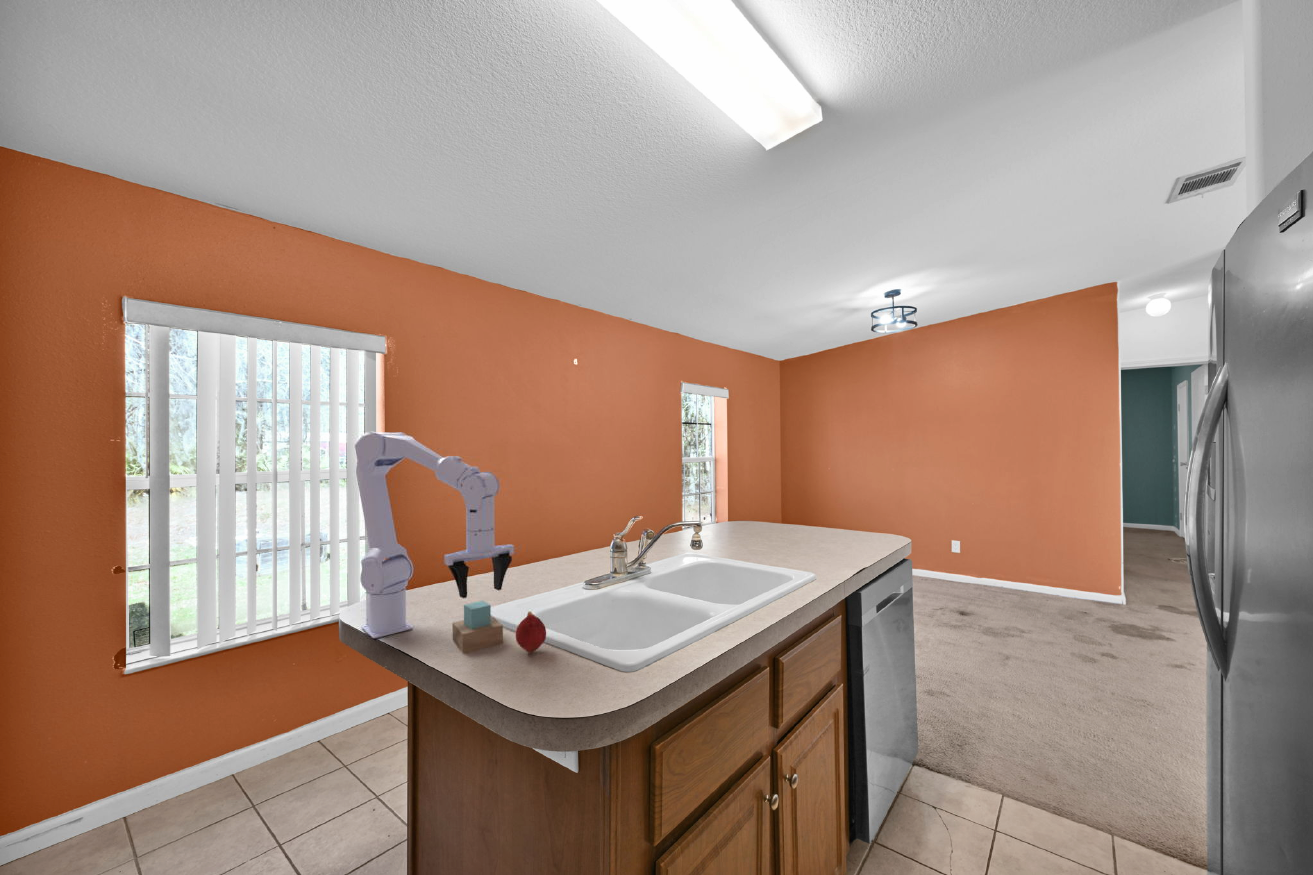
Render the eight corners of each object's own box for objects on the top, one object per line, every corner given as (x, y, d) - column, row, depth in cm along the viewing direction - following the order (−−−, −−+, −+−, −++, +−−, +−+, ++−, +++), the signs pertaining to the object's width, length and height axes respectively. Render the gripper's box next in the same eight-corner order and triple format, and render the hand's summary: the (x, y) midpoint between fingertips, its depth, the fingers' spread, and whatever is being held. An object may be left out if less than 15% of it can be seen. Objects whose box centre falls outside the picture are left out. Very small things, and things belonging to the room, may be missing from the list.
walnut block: (452, 641, 105) (452, 622, 105) (490, 632, 110) (490, 614, 110) (462, 654, 98) (462, 634, 98) (502, 644, 103) (502, 625, 103)
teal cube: (464, 624, 104) (463, 604, 104) (482, 619, 107) (482, 600, 107) (471, 629, 101) (471, 609, 101) (490, 624, 104) (490, 605, 104)
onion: (550, 646, 101) (549, 607, 101) (540, 659, 95) (540, 617, 95) (522, 646, 101) (521, 606, 101) (511, 658, 96) (510, 616, 96)
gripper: (453, 536, 99) (454, 605, 98) (520, 527, 109) (521, 589, 109) (440, 531, 104) (440, 597, 104) (505, 523, 114) (505, 583, 114)
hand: (480, 593), depth 106 cm, fingers open, 7 cm apart
